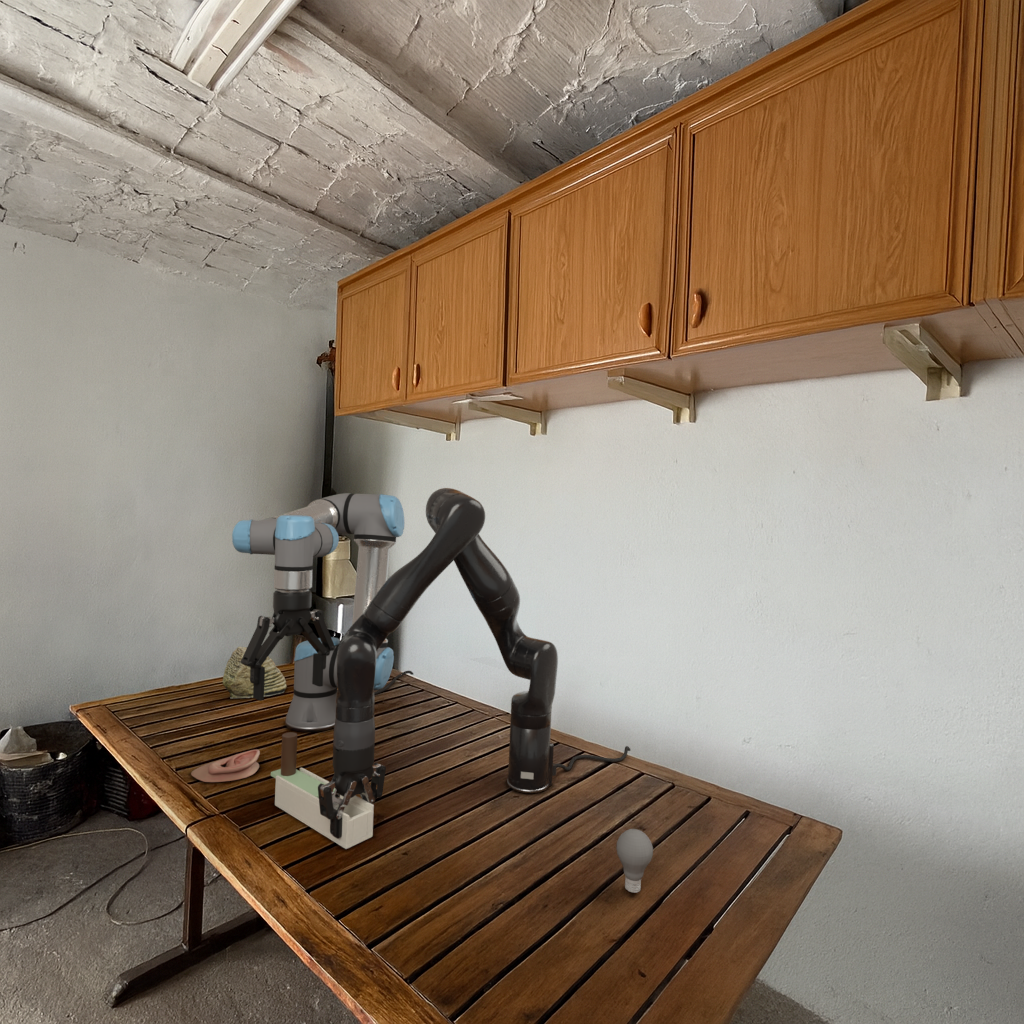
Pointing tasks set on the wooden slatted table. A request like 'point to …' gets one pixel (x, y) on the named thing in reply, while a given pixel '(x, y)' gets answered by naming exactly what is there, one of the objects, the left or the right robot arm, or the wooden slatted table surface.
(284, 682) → the fossil
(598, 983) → the wooden slatted table surface
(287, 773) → the sliding lid
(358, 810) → the pencil box
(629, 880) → the light bulb
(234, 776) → the anatomical model
